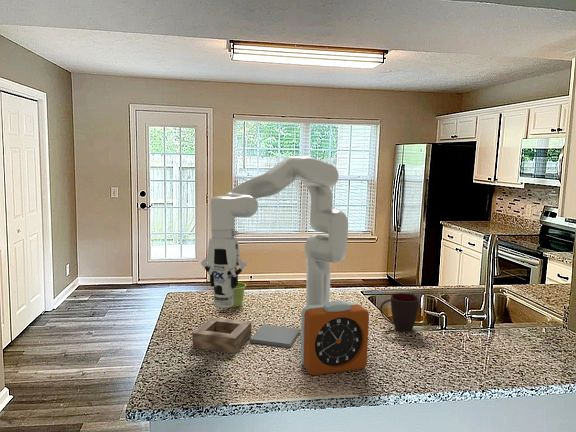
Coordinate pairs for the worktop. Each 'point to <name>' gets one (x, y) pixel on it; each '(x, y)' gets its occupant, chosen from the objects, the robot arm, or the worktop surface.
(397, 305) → the cup
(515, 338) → the worktop surface
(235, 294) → the plant pot
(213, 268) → the robot arm
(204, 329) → the walnut collar
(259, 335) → the slate coaster
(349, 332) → the alarm clock
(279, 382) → the worktop surface
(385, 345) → the worktop surface
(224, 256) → the spray can
